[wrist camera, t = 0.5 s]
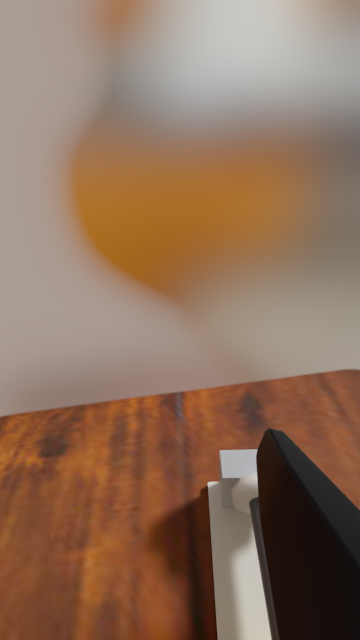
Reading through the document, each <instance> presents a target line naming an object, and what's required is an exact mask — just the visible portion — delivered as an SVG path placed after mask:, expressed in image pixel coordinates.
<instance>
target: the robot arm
mask: <svg viewBox="0 0 360 640" xmlns="http://www.w3.org/2000/svg"><path fill="white" fill-rule="evenodd" d="M256 464H257V481H258V498H259V513H260V522H261V529H262V535H263V541H264V548H265V554H266V560H267V566H268V573H269V579H270V585H271V591H272V597H273V604H274V610H275V616H276V622H277V629H278V635H279V640H360V510H359V509H358V508H357V507H356V506H355V505H354V504H353V503H352V502H351V501H350V500H349V499H348V498H347V497H346V496H345V495H344V494H343V493H342V491H341V490H340V489H339V488H338V487H337V486H336V485H335V484H334V483H333V482H332V481H331V480H330V479H329V478H328V477H327V476H326V475H325V474H324V473H323V472H322V471H321V470H320V469H319V468H318V467H317V466H316V465H315V464H314V463H313V462H312V461H311V460H310V459H309V458H308V457H307V456H306V455H305V454H304V453H303V452H302V450H301V449H300V448H299V447H298V446H297V445H296V444H295V443H294V442H293V441H292V440H291V439H290V438H289V437H288V436H287V435H286V434H285V433H284V432H283V431H280V430H276V429H272V428H269V429H267V430H266V431H265V433H264V436H263V438H262V440H261V443H260V445H259V448H258V450H257V455H256Z"/></svg>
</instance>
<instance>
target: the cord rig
mask: <svg viewBox="0 0 360 640" xmlns="http://www.w3.org/2000/svg"><path fill="white" fill-rule="evenodd" d="M257 450H258V449H253V450H220V462H219V482H208V496H209V512H210V528H211V544H212V560H213V575H214V591H215V607H216V623H217V639H218V640H279V635H278V629H277V622H276V616H275V610H274V604H273V597H272V591H271V585H270V579H269V573H268V566H267V560H266V554H265V548H264V541H263V535H262V529H261V522H260V513H259V498H258V481H257V464H256V455H257Z"/></svg>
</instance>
